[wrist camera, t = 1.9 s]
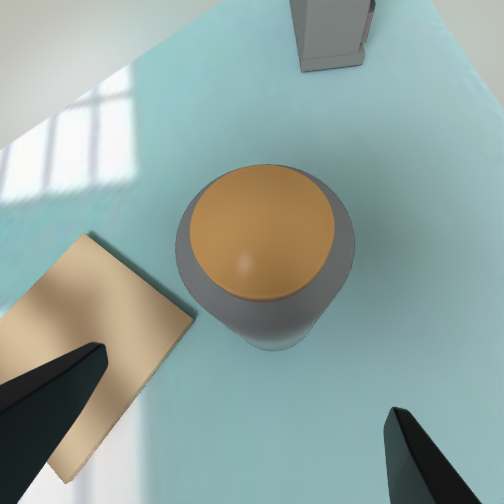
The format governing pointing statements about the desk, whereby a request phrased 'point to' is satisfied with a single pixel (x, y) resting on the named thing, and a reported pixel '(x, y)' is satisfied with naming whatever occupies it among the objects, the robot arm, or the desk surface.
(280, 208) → the canister
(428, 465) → the robot arm
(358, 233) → the desk surface
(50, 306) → the mat
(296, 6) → the tall grey pillar
